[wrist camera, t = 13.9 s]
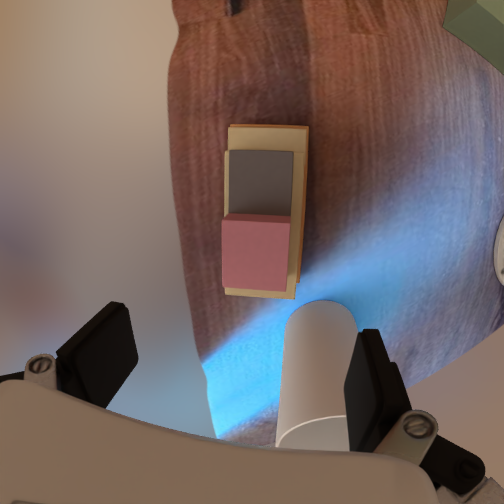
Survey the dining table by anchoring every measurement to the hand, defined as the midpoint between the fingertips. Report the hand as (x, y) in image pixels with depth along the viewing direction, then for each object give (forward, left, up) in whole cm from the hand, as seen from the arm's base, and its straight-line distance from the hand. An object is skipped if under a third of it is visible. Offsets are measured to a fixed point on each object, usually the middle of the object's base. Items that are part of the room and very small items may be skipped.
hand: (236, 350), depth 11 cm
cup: (-10, +9, -20) cm, 24 cm away
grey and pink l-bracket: (+1, -2, -13) cm, 14 cm away
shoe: (+1, -2, -19) cm, 20 cm away
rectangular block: (-15, -32, -19) cm, 40 cm away
